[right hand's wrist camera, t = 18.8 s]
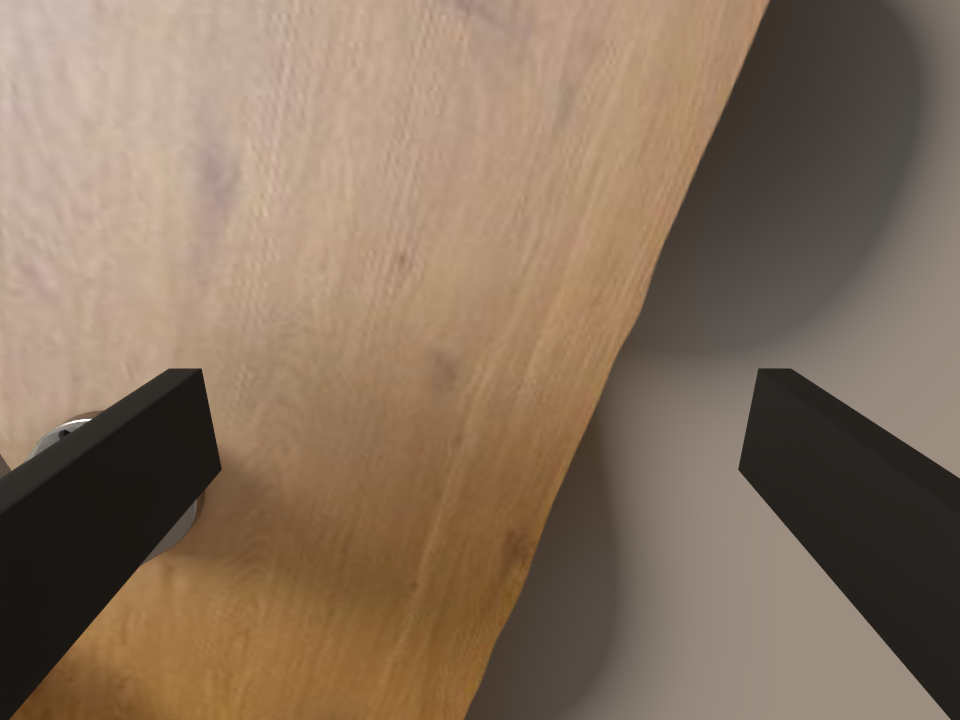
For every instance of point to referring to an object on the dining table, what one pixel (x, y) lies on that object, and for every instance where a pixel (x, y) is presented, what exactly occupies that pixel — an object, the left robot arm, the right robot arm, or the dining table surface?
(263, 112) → the dining table surface
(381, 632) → the dining table surface
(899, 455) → the right robot arm
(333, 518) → the dining table surface
